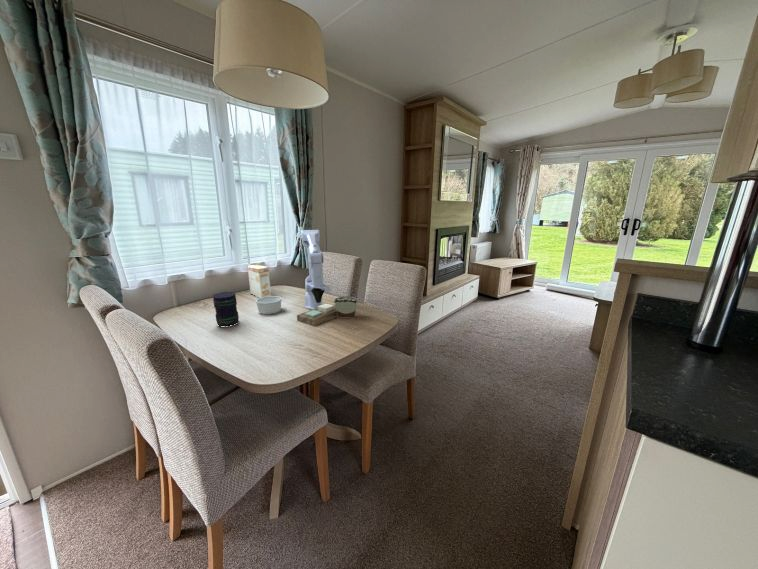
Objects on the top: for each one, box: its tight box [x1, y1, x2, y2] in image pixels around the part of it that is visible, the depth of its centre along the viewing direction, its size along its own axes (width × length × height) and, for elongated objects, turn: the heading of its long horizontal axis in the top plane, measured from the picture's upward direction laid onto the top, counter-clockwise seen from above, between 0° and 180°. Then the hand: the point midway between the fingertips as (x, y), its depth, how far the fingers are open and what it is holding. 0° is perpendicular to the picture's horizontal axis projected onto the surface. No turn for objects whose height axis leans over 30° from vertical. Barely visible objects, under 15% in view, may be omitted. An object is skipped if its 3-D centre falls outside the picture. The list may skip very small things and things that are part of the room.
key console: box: [296, 306, 337, 327], centre depth 152 cm, size 12×20×3 cm, turn 145°
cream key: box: [318, 303, 335, 312], centre depth 155 cm, size 6×6×2 cm
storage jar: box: [212, 291, 240, 326], centre depth 142 cm, size 10×10×15 cm
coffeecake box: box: [247, 264, 272, 299], centre depth 188 cm, size 15×7×20 cm, turn 48°
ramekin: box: [255, 295, 283, 315], centre depth 161 cm, size 13×13×7 cm
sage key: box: [305, 309, 322, 318], centre depth 148 cm, size 6×6×2 cm
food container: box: [333, 295, 358, 319], centre depth 153 cm, size 12×6×10 cm, turn 84°
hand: (318, 302), depth 150 cm, fingers closed
